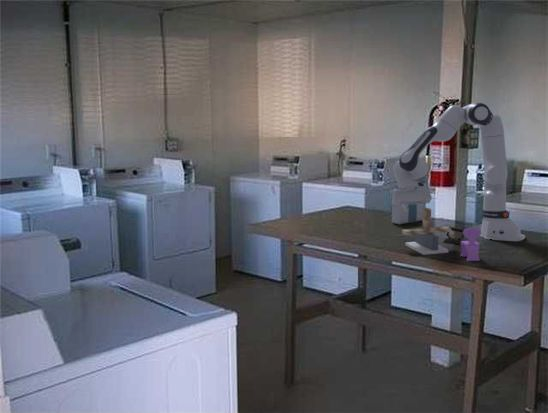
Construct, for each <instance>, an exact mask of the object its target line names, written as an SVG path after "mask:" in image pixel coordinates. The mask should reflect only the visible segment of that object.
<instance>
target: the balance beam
mask: <svg viewBox="0 0 548 413" xmlns="http://www.w3.org/2000/svg"><path fill="white" fill-rule="evenodd" d="M447 232H449V233H452V230H451V228H450V227H449V226H435V227H432V208H430V207H426V208H423V220H422V227H421V228H407V229H401V234H402V235H403V236H415V235H419V234H441V233H442V234H443V233H445V234H446V233H447Z"/></svg>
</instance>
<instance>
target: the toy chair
mask: <svg viewBox="0 0 548 413" xmlns="http://www.w3.org/2000/svg"><path fill="white" fill-rule="evenodd" d="M464 229H465V230H464V231H463V233H462V236H463V235H464V238H466V239H467V240H464V241H461V244H460V247H461V254H460V257H461V256H462V257H466V260H465V262H470V261H471V262H473V261H474V262H475V261H476V262H477V261H481V259H480V257H479V250H480V243H479V242H477V238H479V237H481V236H480V235H481V228H478V227H476V226H475V227H472V226H471V227H467V228H464Z"/></svg>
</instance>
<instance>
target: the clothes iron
mask: <svg viewBox="0 0 548 413" xmlns="http://www.w3.org/2000/svg"><path fill="white" fill-rule="evenodd" d="M448 227H450V228H451V232H458V233H462V236H461V237H459V238H457V237H452V236H450V235H449V234H450V232H446V237H447V238H445V239H444V240H443V241H442V242H443V244H453V245H461V241H465V240H464V238H465V236H464V235H463V231H464V230H465V229H466V228H464V229H463V228H460V227H459V228H458V227H454V226H450V225H449V226H448Z"/></svg>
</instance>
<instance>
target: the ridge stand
mask: <svg viewBox="0 0 548 413" xmlns="http://www.w3.org/2000/svg"><path fill="white" fill-rule="evenodd" d="M404 244H405V247H408V248H409V249H412V250H413V251H415V252H417V253H419V254H421V255H422V256H423V255H424V256H425V255H435V254H445V253H446V254H447V253H449V249H448V248H447V247H445V246H442V245H440V244H439V236H438V235H436V234H434V233H432V234H419V235H414V241H407V242H405V243H404Z"/></svg>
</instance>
